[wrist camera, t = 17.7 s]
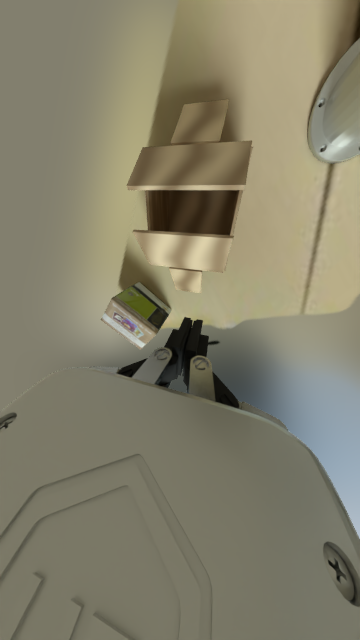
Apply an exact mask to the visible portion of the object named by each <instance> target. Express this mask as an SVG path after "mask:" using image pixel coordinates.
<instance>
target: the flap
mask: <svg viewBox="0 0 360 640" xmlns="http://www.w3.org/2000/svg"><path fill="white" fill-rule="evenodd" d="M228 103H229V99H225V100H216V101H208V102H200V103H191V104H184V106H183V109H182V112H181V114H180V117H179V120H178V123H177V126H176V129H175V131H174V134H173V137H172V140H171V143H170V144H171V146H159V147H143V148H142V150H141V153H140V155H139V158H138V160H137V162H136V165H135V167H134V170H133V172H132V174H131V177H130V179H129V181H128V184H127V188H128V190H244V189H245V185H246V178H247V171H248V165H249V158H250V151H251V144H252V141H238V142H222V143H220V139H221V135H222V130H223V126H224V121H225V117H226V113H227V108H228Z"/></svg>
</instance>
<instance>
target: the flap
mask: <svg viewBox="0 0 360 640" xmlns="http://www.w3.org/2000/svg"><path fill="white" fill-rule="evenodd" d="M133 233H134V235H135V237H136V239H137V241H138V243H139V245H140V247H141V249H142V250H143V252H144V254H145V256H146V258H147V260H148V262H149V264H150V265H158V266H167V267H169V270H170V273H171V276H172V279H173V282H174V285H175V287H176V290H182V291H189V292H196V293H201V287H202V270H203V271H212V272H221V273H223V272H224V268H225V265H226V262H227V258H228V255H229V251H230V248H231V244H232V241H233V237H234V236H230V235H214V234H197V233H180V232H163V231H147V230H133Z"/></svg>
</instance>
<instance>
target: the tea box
mask: <svg viewBox="0 0 360 640" xmlns="http://www.w3.org/2000/svg"><path fill="white" fill-rule="evenodd" d="M170 312H171V309H170V308H169V307H167V306H166V305H165V304H164V303H163V302H162V301H161V300H159V299H158V298H157V297H156V296H155V295H154V294H153V293H151V292H150V291H149V290H148V289H147V288H146V287H144V286H143V285H142V284H141V283H140V282H138V283H136V284H134V285H133V286H131V287H129V288H128V289H126V290H124V291H123V292H121V293H119V294H118V295H116V296H115V297H113V298H112V299H111V301H110V303H109V305H108V307H107V309H106V311H105V313H104V315H103V317H102V318H101V320H102V321H103V322H104V323H106V324H107V325H108V326H110V327H111V328H112V329H114V330H115V331H116V332H118V333H119V334H121V335H122V336H123V337H124V338H126V339H127V340H128V341H130V342H131V343H132V344H134V345H135V346H137V347H138V348H139V349H142V348H143V347H144V346H145V345H146V344H147V343H148V342H149V341H150V340H151V339H152V338H153V337H154V336H155V335H156V334H157V333H158V331H159V330H160V328H161V326H162V325H163V323H164V322H165V320H166V319H167V317H168V316H169V314H170Z"/></svg>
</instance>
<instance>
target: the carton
mask: <svg viewBox="0 0 360 640" xmlns="http://www.w3.org/2000/svg"><path fill="white" fill-rule="evenodd" d="M252 148H253V147H251V151H250V157H251V152H252ZM249 161H250V158H249ZM248 166H249V165H248ZM242 193H243V190H146V206H147V222H148V231H163V232H180V233H197V234H214V235H230V236H233V233H234V229H235V224H236V220H237V215H238V211H239V206H240V202H241V197H242ZM227 260H228V258H227ZM226 264H227V262H226ZM225 269H226V265H225V268H224V271H225Z"/></svg>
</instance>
